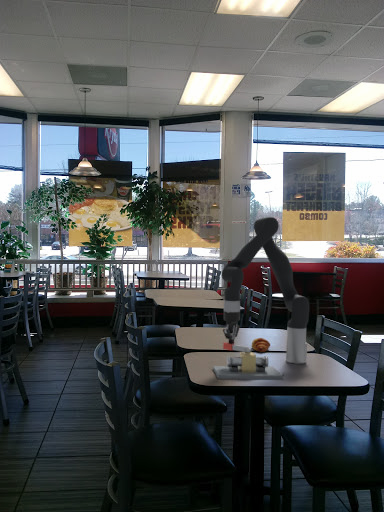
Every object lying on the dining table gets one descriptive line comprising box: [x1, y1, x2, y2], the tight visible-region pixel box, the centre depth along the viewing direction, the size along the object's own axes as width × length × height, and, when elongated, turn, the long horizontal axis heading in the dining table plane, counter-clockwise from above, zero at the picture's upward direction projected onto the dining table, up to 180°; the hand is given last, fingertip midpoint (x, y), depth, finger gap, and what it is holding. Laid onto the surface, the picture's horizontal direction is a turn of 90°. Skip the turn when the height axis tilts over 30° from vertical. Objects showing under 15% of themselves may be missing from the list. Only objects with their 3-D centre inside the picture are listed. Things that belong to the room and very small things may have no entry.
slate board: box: [212, 365, 284, 380], centre depth 202 cm, size 28×15×2 cm, turn 96°
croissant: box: [251, 337, 271, 353], centre depth 255 cm, size 21×10×8 cm, turn 175°
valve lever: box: [222, 341, 252, 354], centre depth 205 cm, size 14×3×3 cm, turn 53°
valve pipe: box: [226, 351, 269, 373], centre depth 202 cm, size 18×6×8 cm, turn 96°
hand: (231, 347), depth 211 cm, fingers closed
